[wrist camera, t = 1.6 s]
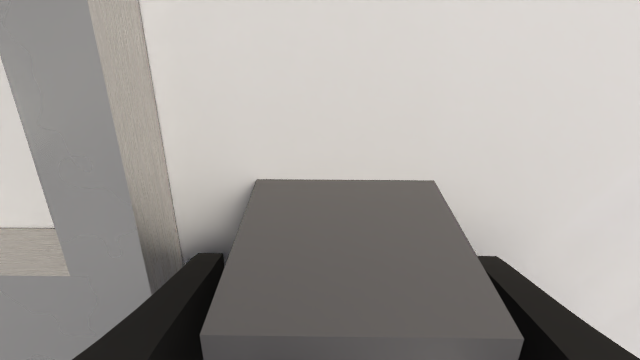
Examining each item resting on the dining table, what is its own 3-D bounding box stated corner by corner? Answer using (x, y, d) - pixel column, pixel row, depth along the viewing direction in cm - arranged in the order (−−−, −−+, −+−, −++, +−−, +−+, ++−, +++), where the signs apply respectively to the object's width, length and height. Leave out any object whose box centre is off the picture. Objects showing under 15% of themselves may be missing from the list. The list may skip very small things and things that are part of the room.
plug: (415, 315, 12) (487, 576, 7) (266, 313, 12) (218, 571, 7) (433, 180, 10) (553, 390, 5) (257, 178, 10) (180, 386, 5)
